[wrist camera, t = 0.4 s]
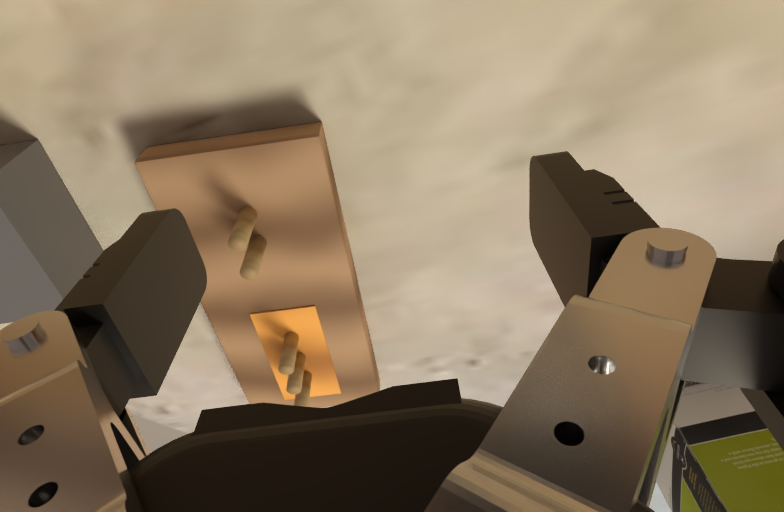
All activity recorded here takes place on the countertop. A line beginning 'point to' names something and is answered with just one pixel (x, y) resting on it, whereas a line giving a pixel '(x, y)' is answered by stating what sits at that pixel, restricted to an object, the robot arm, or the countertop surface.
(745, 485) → the tea box
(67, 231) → the block
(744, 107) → the countertop surface
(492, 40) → the countertop surface
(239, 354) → the board
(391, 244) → the countertop surface
